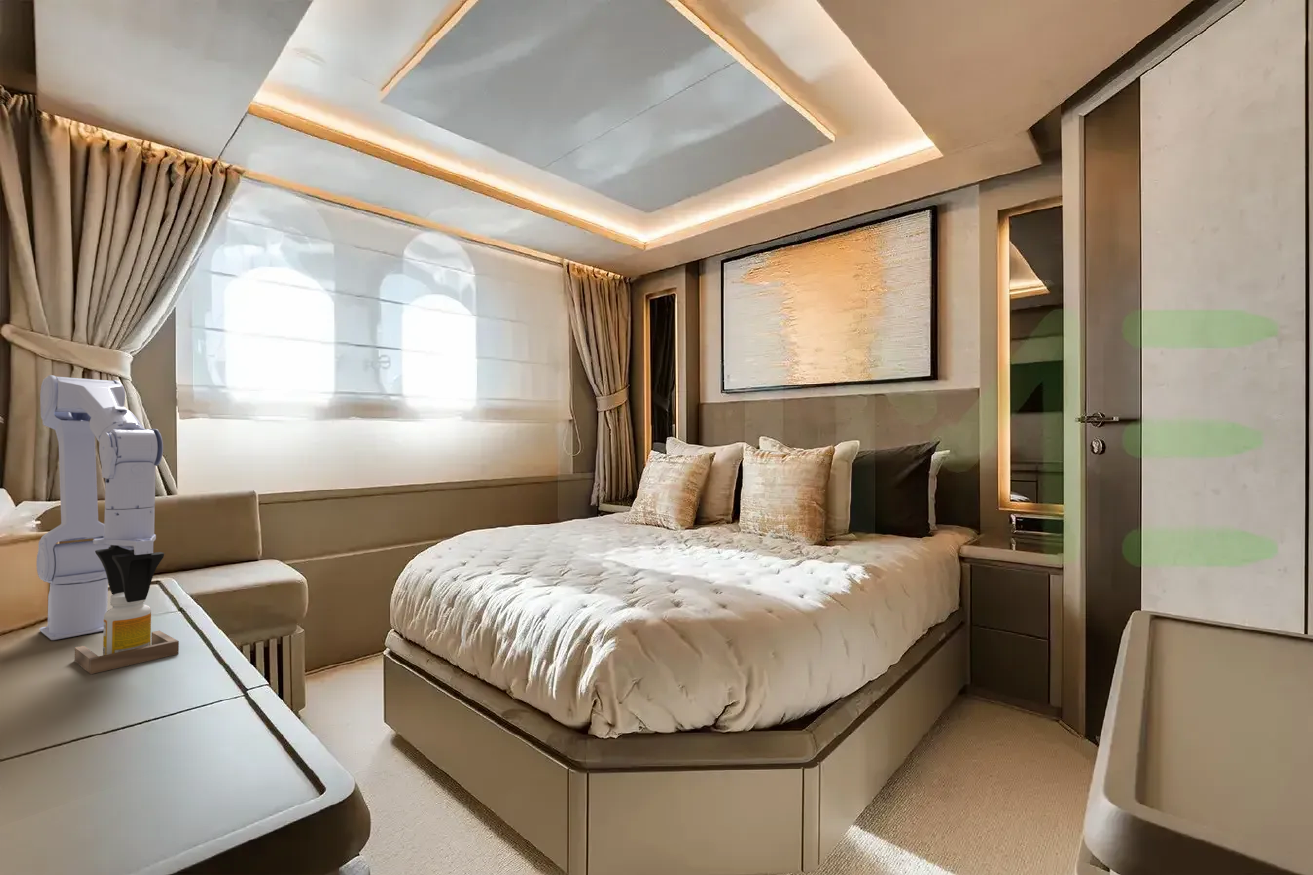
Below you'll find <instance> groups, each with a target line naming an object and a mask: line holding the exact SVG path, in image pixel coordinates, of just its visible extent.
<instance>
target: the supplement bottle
mask: <svg viewBox="0 0 1313 875" xmlns="http://www.w3.org/2000/svg"><path fill="white" fill-rule="evenodd" d="M144 602H146V600H140V601H134V602H127V601H126V598H125V595H124V592H122V593H117V594H114V595H113V594H111V595H110V601H109V604H110V606H111V607H112V608H110V609H107V612H106V613H105V615H104V631H102V633H103V640H102V656H103V655H108V654H112V653H117V652H122V651H126V650H131V649H136V648H140V647H145V646H150V645H151V633H152V609H151V607H150V606H149V605H147V604H145V603H144Z"/></svg>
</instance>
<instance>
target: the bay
mask: <svg viewBox="0 0 1313 875" xmlns="http://www.w3.org/2000/svg"><path fill="white" fill-rule="evenodd" d="M179 645H180V641H179V640H178V639H176V638H174V637H172V636H170V635H169V634H166V633H164V632H162V631H161V630H156V631H151V645H150V646H145V647H140V648H136V649H131V650H126V651H122V652H117V653H112V654H108V655H103V654H102V655H100V656H99V655H97V654H96V653H94V652H93V651H92V650H91V649H89V648H88V647H86V646H85V645H80V646H76V647H74V662H75V663H76V664H78V665H79V666H80V667H81V668H82V669H84V670H85V672H87V673H89V674H90V675H93V674H97V673H101V672H106V671H110V670H114V669H118V668H119V669H120V668H123V667H128V666H132V665H133V666H134V665H137V664H141V663H146V662H149V661H154V660H158V659H163V658H167V657H171V656H176V655H179V653H180V652H179V650H180V649H179V648H180V646H179Z"/></svg>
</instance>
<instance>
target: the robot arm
mask: <svg viewBox="0 0 1313 875" xmlns="http://www.w3.org/2000/svg"><path fill="white" fill-rule="evenodd" d="M39 398H40V401H39V402H40V419H41V420H42V426H45V427H48V428H50V429H52V430H54V431H55V434H56V438H57V443H58V462H59V463H58V465H59V470H58V471H59V490H60V491H59V492H60V494H59V495H60V500H59V501H60V524H59V525H57V526H55V527H54V528H53V529H51V530H50V531H47V532H46V533H45V534H43V535H42V536H41V538H40V539H39V540H38V547H37V548H38V549H37V554H36V572H37V575H38V579H40V580H41V581H43V582H46V583H48V584H49V592H48V597H47V600H48V601H47V626H42V627H39V632H41V633H42V634H43V635H44V636H46V637H47V638H48V639H49V640H51V641H57V640H61V639H67V638H72V637H77V636H82V635H87V634H93V633H98V632H104V615H105V613H106V612H107V611H108V601H109V599H108V598H109V597H108V596H109V594H108V593H109V591H108V590H110V593H111V595H114V594H117V593H122V592H124V595H125V598H126V601H127V602H134V601H140V600H145V601H146V599H147V596H148V594H149V592H150V588H151V584H152V580H153V578H154V574H155V572H156V570H157V569H158V567H159V565H160V563H161V561H162V560H163V559H164V557H165V552H162V551H158V552H157V551H155V552H154V542H155V541H156V540H157V534H155V514H156V513H155V512H156V511H155V509H156V508H155V507H156V467H157V466H159V465H160V464H161V461H162V459H163V454H164V441H163V440H164V439H163V437H162V433H160V430H159V429H158V428H145V427H144V426H143V424H142V423H141V422H140V420H139V419H138V418H137V416H136V415H135V414H134V413H133V412H132V411H131V410H129V409H127V408H126V406H125V401H126V392H125V387H124V385H123V384H122V383H121V381H120V380H117V379H113V380H106V379H94V378H93V379H92V378H80V377H79V378H77V377H67V376H56V375H54V374H53V375H52V374H50V375H47V376H45V378H43V380H42V382H41V386H40V393H39ZM96 440H97V442H98V443H99V448H98V449H99V450H98V451H99V452H98V453H99V460H100V464H101V475H102V476H101V477H102V478H103V479H104V480H105V481H104V482H105V484H104V486H105V490H104V521H103V522H101V521H100V520H99V506H98V504H99V503H98V484H97V482H98V481H97V480H98V479H97V478H98V477H97V460H96V459H97V455H96V453H97V452H96ZM88 539H89V540H88ZM90 539H93V540H90ZM79 540H84V541H79ZM85 540H86V541H85ZM69 541H73V542H69ZM74 541H75V542H74ZM58 542H60V543H58ZM61 542H65V543H61Z"/></svg>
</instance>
